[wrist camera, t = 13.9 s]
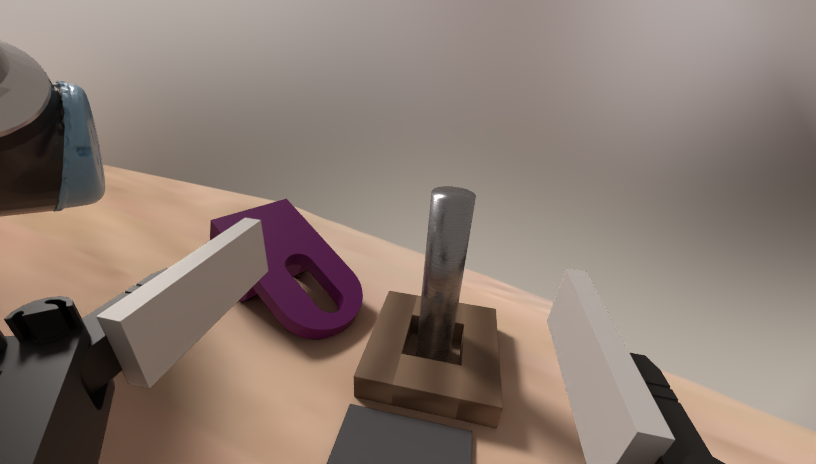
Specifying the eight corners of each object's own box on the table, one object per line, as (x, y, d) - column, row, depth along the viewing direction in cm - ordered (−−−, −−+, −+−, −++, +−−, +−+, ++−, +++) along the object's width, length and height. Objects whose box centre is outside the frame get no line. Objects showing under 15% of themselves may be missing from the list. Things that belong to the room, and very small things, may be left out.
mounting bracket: (356, 335, 43) (276, 240, 48) (378, 300, 38) (286, 198, 43) (294, 382, 36) (208, 266, 41) (310, 348, 31) (210, 220, 36)
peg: (413, 363, 32) (428, 198, 24) (418, 338, 35) (434, 184, 27) (448, 370, 31) (475, 204, 24) (451, 344, 34) (476, 189, 27)
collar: (354, 396, 28) (353, 376, 27) (388, 308, 39) (389, 290, 38) (496, 428, 26) (502, 407, 25) (491, 326, 37) (495, 309, 36)
